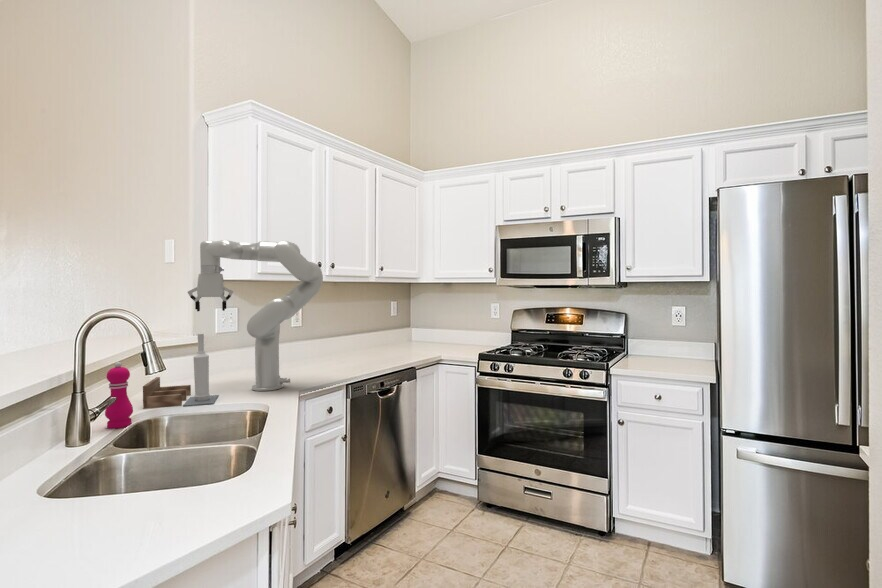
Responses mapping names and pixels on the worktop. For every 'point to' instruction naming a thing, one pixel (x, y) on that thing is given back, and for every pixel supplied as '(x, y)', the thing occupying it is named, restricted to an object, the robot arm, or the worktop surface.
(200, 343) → the bottle
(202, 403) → the rubber mat
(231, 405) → the worktop surface
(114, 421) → the pepper mill
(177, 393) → the lane rack
